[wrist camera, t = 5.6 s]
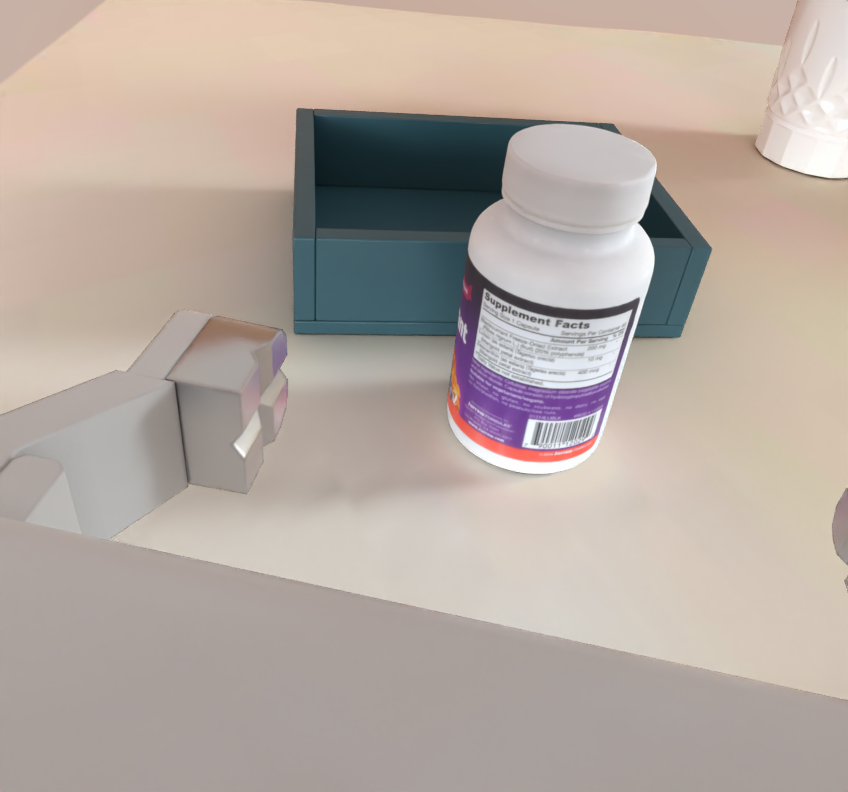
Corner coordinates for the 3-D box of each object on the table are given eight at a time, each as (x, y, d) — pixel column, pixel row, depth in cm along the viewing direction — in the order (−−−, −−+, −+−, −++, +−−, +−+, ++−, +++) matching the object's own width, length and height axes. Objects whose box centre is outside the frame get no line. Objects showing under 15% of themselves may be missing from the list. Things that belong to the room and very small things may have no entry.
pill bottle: (480, 358, 30) (524, 99, 24) (618, 407, 28) (703, 143, 22) (417, 441, 26) (449, 156, 20) (572, 503, 24) (660, 216, 18)
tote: (594, 199, 42) (613, 123, 39) (680, 337, 32) (712, 248, 30) (297, 189, 39) (296, 107, 37) (294, 334, 30) (292, 237, 27)
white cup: (719, 138, 51) (777, -35, 44) (807, 128, 54) (873, -35, 47) (810, 190, 45) (892, 2, 39) (902, 177, 48) (992, 0, 42)
